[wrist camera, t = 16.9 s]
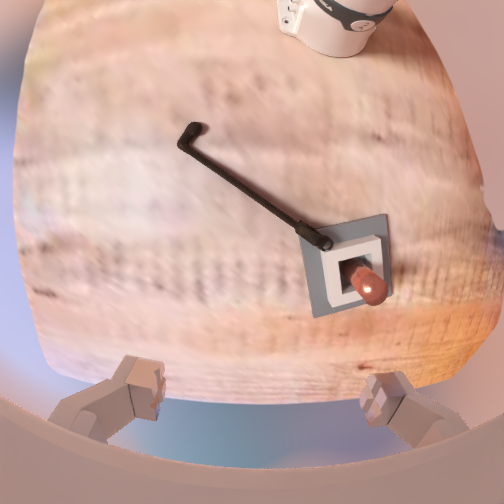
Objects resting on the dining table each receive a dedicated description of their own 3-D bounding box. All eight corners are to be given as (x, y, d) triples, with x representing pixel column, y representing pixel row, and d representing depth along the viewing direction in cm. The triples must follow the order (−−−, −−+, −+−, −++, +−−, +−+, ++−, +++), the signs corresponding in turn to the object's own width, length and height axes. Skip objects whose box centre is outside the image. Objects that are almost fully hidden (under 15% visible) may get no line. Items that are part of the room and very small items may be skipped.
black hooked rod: (197, 122, 43) (341, 228, 45) (180, 147, 44) (323, 251, 47) (188, 116, 38) (349, 234, 40) (169, 143, 39) (328, 260, 42)
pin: (339, 259, 47) (363, 284, 36) (360, 254, 46) (388, 276, 36) (341, 280, 48) (364, 308, 37) (362, 275, 48) (389, 301, 37)
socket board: (298, 233, 46) (302, 238, 42) (383, 213, 46) (393, 217, 42) (312, 315, 51) (317, 326, 47) (389, 293, 50) (398, 302, 46)
